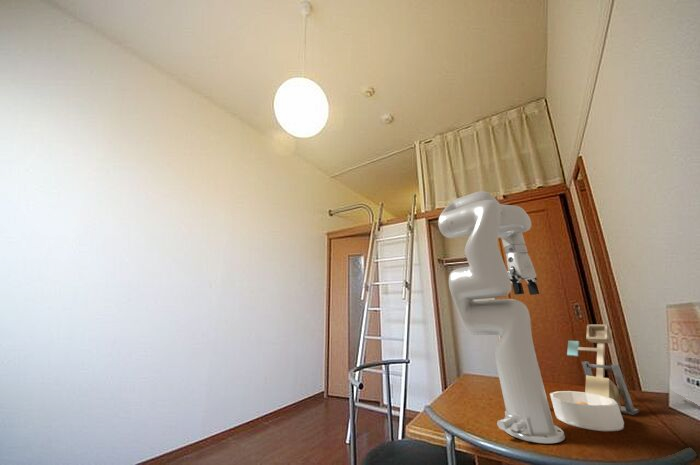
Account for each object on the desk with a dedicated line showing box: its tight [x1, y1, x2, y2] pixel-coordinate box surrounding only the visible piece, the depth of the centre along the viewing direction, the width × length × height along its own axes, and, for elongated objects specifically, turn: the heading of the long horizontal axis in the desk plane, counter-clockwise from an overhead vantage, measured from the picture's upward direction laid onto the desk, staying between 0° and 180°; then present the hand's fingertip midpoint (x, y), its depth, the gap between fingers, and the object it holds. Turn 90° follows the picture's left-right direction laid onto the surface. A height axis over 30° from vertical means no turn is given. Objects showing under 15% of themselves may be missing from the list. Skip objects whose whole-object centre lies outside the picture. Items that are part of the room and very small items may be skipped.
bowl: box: [549, 390, 625, 432], centre depth 68 cm, size 14×14×5 cm
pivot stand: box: [581, 361, 640, 416], centre depth 76 cm, size 4×9×12 cm, turn 27°
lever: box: [566, 323, 622, 410], centre depth 81 cm, size 23×12×6 cm
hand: (527, 294), depth 97 cm, fingers open, 9 cm apart
